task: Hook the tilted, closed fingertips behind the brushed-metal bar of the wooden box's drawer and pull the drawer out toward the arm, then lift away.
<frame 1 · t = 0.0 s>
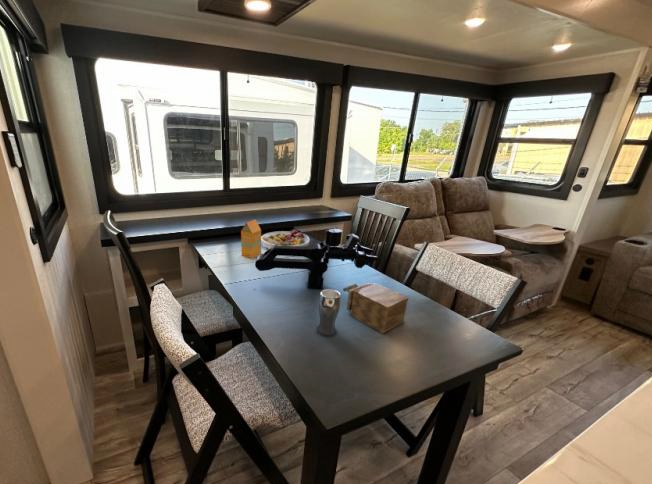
hand: (375, 254, 135), 17 cm above the table, tool horizontal, fingers open, 9 cm apart
beer glass: (326, 331, 110), on the table
orange juice: (251, 254, 179), on the table
bowl: (284, 246, 194), on the table
wooden box: (376, 318, 118), on the table
rack: (366, 300, 120), point 5 cm above the table, slide at 1.5 cm
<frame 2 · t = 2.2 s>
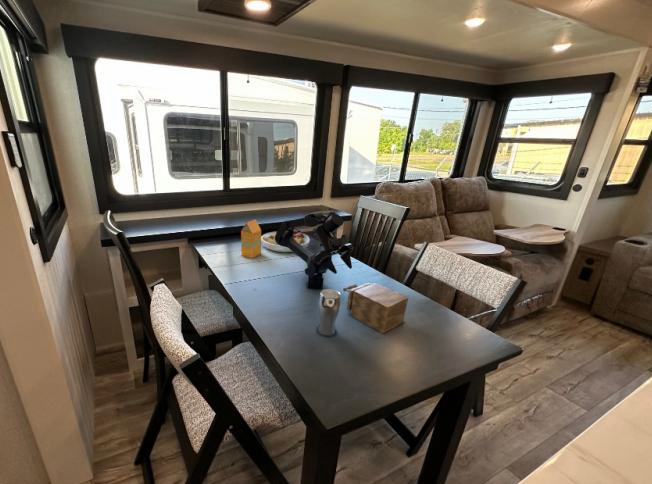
hand: (343, 270, 127), 13 cm above the table, tool tilted 45°, fingers open, 9 cm apart
nothing on the table moved.
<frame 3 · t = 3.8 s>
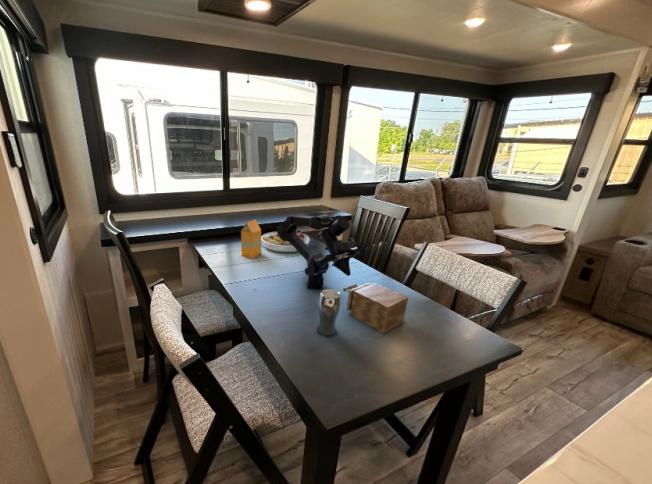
hand: (349, 275, 124), 12 cm above the table, tool tilted 45°, fingers closed
nothing on the table moved.
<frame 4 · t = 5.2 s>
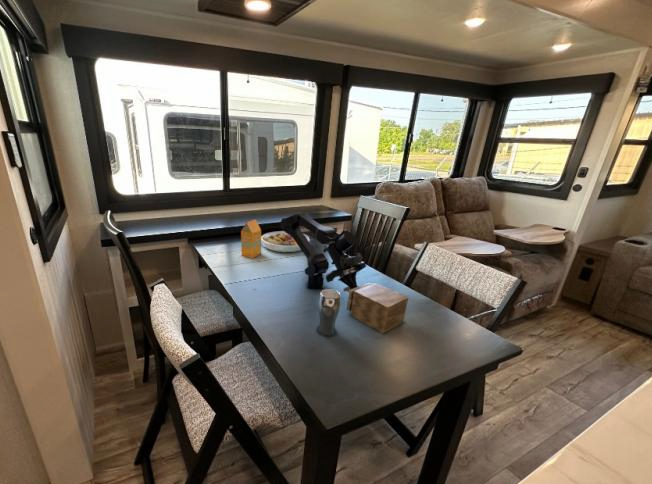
hand: (356, 290, 123), 7 cm above the table, tool tilted 45°, fingers closed, pressing on rack
rack: (366, 300, 120), point 5 cm above the table, slide at 1.3 cm, touching gripper
everything else where it was.
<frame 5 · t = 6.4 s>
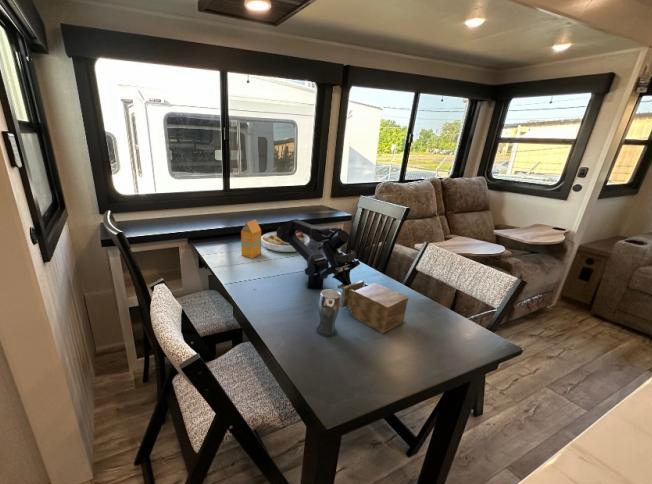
hand: (349, 287, 125), 7 cm above the table, tool tilted 45°, fingers closed, pressing on rack
rack: (360, 297, 122), point 5 cm above the table, slide at 4.5 cm, touching gripper
everything else where it was.
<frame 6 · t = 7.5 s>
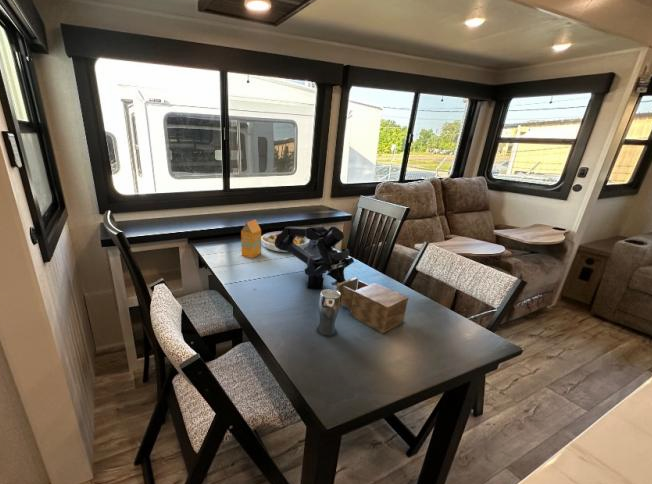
hand: (343, 284, 128), 7 cm above the table, tool tilted 45°, fingers closed, pressing on rack
rack: (353, 294, 125), point 5 cm above the table, slide at 7.7 cm, touching gripper
everything else where it was.
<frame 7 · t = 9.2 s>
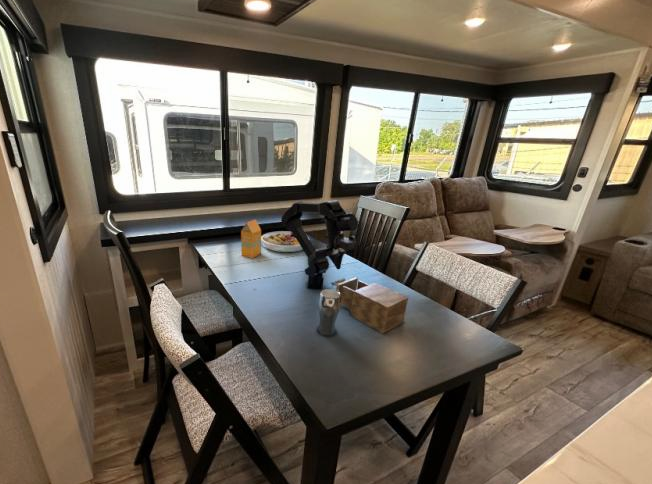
hand: (338, 269, 129), 13 cm above the table, tool tilted 15°, fingers closed
rack: (353, 294, 125), point 5 cm above the table, slide at 7.7 cm
everything else where it was.
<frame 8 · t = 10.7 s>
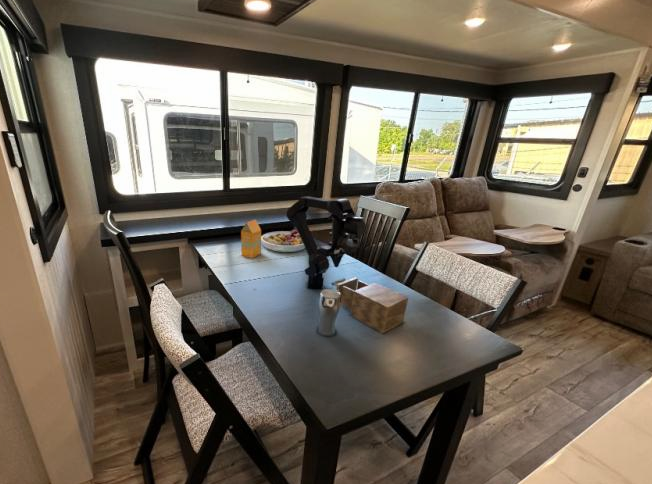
hand: (336, 267, 130), 13 cm above the table, tool pointing down, fingers closed
nothing on the table moved.
at the end: rack slide at 7.7 cm; beer glass moved 0.2 cm from its start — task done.
